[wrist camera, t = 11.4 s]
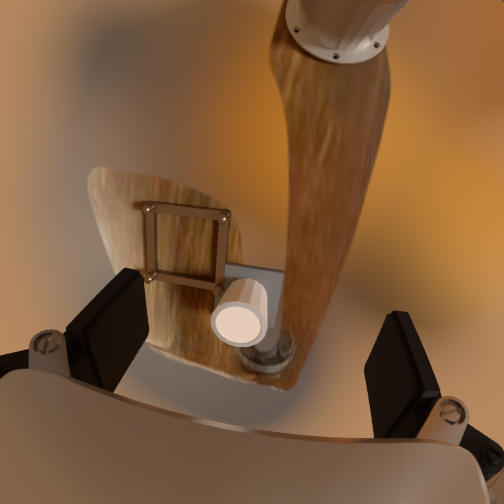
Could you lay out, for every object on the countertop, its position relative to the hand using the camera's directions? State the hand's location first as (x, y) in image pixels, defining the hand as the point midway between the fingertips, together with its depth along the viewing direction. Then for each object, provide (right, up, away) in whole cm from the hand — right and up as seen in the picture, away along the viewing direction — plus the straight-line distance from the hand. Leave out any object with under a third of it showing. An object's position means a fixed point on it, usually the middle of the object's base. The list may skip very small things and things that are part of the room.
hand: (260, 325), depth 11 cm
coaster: (-1, -3, +31) cm, 32 cm away
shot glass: (-1, -3, +31) cm, 31 cm away
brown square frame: (-9, +3, +30) cm, 31 cm away
